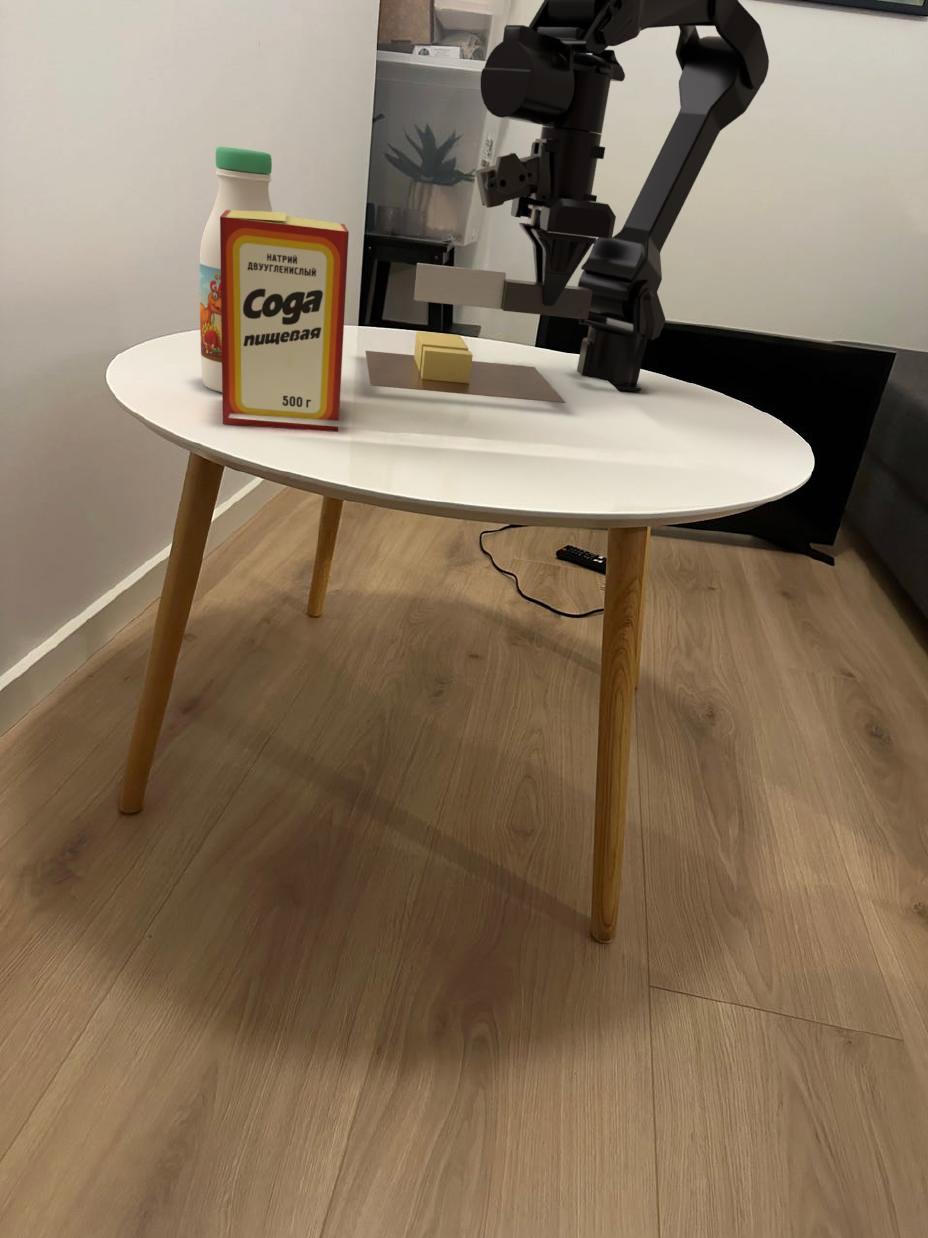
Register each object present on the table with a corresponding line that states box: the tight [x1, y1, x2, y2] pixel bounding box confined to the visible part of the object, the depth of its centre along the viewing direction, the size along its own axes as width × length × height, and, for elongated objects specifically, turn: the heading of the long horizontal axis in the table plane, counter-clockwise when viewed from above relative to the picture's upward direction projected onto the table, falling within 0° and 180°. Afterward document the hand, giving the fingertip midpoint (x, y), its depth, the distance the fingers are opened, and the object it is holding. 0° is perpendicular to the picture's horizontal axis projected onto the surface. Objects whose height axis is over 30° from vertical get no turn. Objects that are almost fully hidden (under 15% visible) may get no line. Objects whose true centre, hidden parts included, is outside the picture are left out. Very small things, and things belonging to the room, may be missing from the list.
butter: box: [413, 330, 469, 372], centre depth 94 cm, size 5×7×3 cm
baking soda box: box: [220, 210, 350, 433], centre depth 71 cm, size 10×6×16 cm
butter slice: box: [421, 347, 474, 384], centre depth 89 cm, size 5×2×3 cm, turn 98°
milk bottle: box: [198, 146, 274, 393], centre depth 77 cm, size 8×8×20 cm
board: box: [365, 350, 567, 404], centre depth 93 cm, size 20×16×1 cm
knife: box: [413, 262, 592, 320], centre depth 87 cm, size 18×2×4 cm, turn 98°
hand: (545, 303), depth 88 cm, fingers closed on knife, 2 cm apart
